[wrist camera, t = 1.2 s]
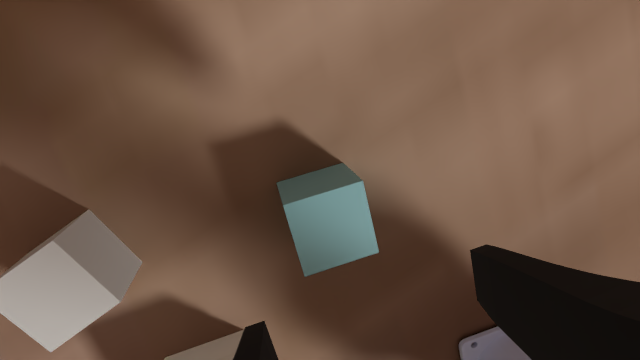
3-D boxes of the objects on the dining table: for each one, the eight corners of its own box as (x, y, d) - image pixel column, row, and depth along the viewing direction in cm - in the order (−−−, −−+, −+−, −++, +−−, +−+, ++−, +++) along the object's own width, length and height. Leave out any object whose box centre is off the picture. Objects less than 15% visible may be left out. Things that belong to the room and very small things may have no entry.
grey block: (89, 208, 20) (52, 240, 16) (143, 261, 21) (120, 302, 17) (28, 252, 20) (-23, 295, 16) (85, 302, 21) (51, 352, 17)
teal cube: (342, 162, 22) (362, 180, 18) (357, 223, 23) (378, 252, 19) (276, 182, 21) (282, 205, 18) (294, 242, 23) (304, 276, 19)
